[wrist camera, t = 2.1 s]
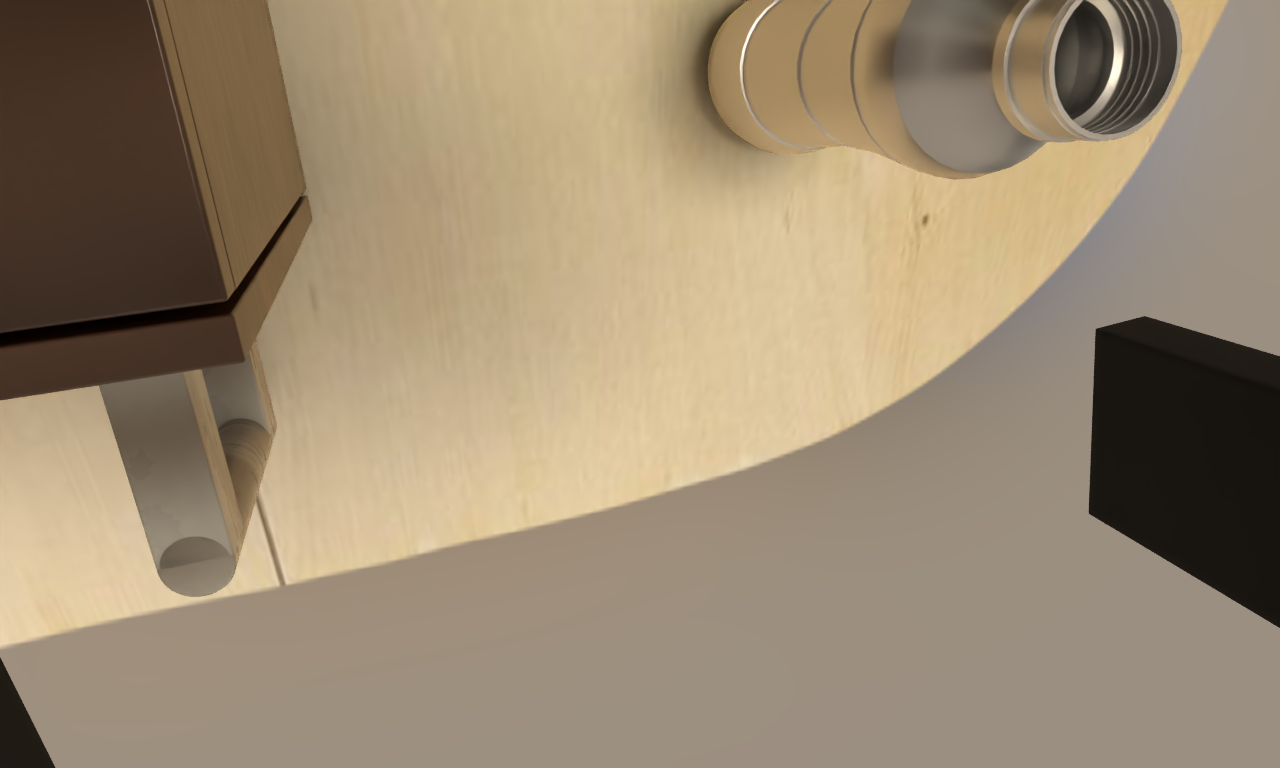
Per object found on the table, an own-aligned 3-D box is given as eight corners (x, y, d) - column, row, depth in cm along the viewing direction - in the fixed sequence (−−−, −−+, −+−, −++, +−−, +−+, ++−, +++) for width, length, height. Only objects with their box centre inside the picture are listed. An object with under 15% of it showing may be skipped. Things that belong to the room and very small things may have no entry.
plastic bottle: (793, 175, 40) (1141, 248, 22) (666, 108, 38) (939, 129, 19) (858, 38, 39) (1284, -4, 21) (731, -39, 36) (1088, -166, 18)
